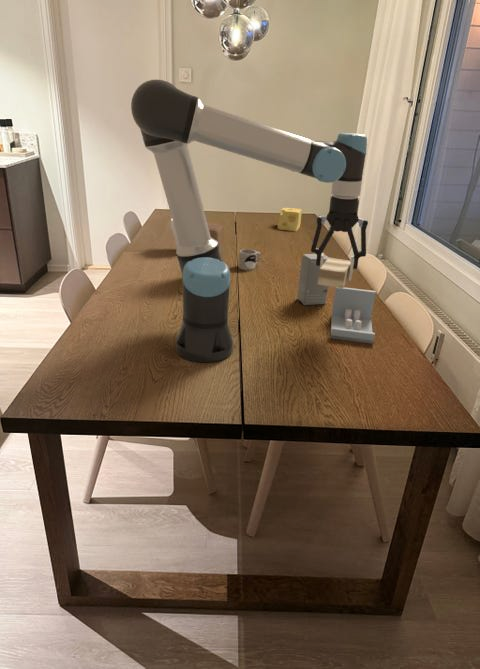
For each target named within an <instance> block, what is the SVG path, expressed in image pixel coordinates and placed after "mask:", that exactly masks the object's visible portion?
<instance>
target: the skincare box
mask: <svg viewBox="0 0 480 669" xmlns="http://www.w3.org/2000/svg"><path fill="white" fill-rule="evenodd" d="M328 258H330V257H329V256H327V255H326V254H325V253H324V259H323V264H324V263H325V261H326V260H327V259H328ZM316 259H317V254H316V253H303V254H302V257H301V264H300V266H301V267H300V273H299V279H298V280H299V281H298V287H297V295H296V296H297V297H296V299H298V301H300V302H301V303H302V305H304V306H310V305H312V306H313V305H325V304H326V301H327V295H328V289H329V286H325V285H319V284H318V277H319V269H320V266H317V265H316Z"/></svg>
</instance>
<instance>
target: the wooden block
mask: <svg viewBox="0 0 480 669" xmlns="http://www.w3.org/2000/svg"><path fill="white" fill-rule="evenodd" d="M207 224H208V228H209V232H210V236H211V238H213V239H214V240H216V241H217V242H218V246H219V249H220V253H221V257H222V258H223V247H224V246H223V242H224V225H222V224H219V223H210V222H207Z"/></svg>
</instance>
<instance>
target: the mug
mask: <svg viewBox="0 0 480 669" xmlns="http://www.w3.org/2000/svg"><path fill="white" fill-rule="evenodd" d="M238 253H239V256H238V269H240V270H242V271H254V270H255V269H256V265H258V264H260V262H261V252H260V251H256V250H255V249H249V248H243V249H240V250H239V252H238Z"/></svg>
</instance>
